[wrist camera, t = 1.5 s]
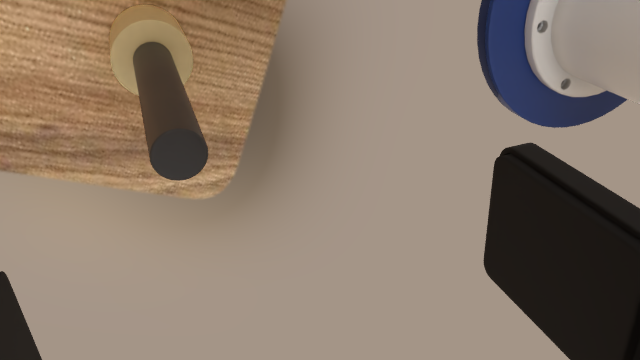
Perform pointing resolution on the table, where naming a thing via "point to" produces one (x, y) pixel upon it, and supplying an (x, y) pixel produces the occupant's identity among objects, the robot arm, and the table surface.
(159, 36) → the brush
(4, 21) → the table surface
